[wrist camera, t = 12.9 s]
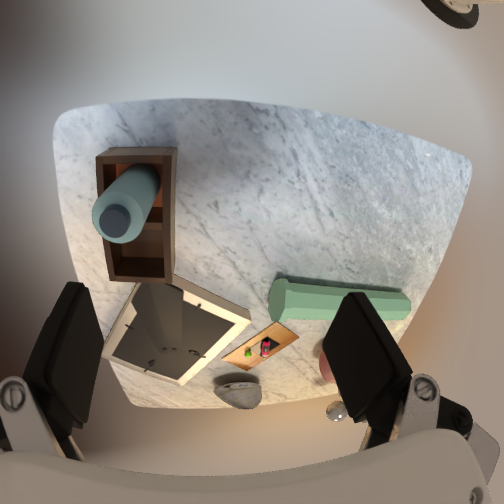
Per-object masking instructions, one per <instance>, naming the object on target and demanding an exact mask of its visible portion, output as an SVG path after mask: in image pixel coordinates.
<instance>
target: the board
mask: <svg viewBox="0 0 504 504" xmlns="http://www.w3.org/2000/svg"><path fill="white" fill-rule="evenodd" d="M298 338H299V336H297V335H296V334H294V333H293V332H291V331H290V330H288V329H287V328H285V327H284V326H283V325H281V324H280V323H278V322H277V321H276V322H274V323H273V324H272V325H270V326H269V327H267V328H266V329H264V330H263V331H262V332H260V333H259V334H257V335H256V336H254V337H253V338H252V339H250V340H249V341H247V342H246V343H244V344H243V345H241V346H240V347H238V348H237V349H235V350H234V351H232V352H231V353H229V354H228V355H226V356H225V357H223V358H222V359H223V360H225V361H227V362H229V363H231V364H233V365H235V366H237V367H239V368H242V369H244V370H246V371H248V370H249V369H251V368H253V367H254V366H256V365H258V364H259V363H261V362H262V361H264V360H266V359H267V358H269V357H270V356H272V355H274V354H275V353H277V352H278V351H280V350H281V349H283V348H284V347H286V346H287V345H289V344H290V343H292V342H293V341H295V340H296V339H298Z"/></svg>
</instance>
